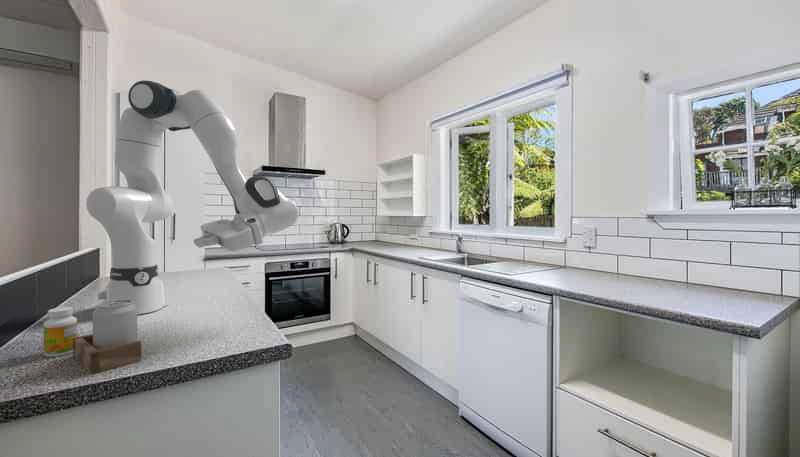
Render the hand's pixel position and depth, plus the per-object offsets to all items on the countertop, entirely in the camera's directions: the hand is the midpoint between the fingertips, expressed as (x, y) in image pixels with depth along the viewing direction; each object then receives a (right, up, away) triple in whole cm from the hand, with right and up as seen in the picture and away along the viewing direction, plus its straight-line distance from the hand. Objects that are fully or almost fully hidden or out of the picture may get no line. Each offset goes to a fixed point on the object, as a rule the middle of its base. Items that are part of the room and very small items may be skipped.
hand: (195, 243), depth 92 cm
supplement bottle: (-22, -24, -14) cm, 35 cm away
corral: (-9, -24, -17) cm, 31 cm away
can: (-8, -24, -16) cm, 30 cm away
